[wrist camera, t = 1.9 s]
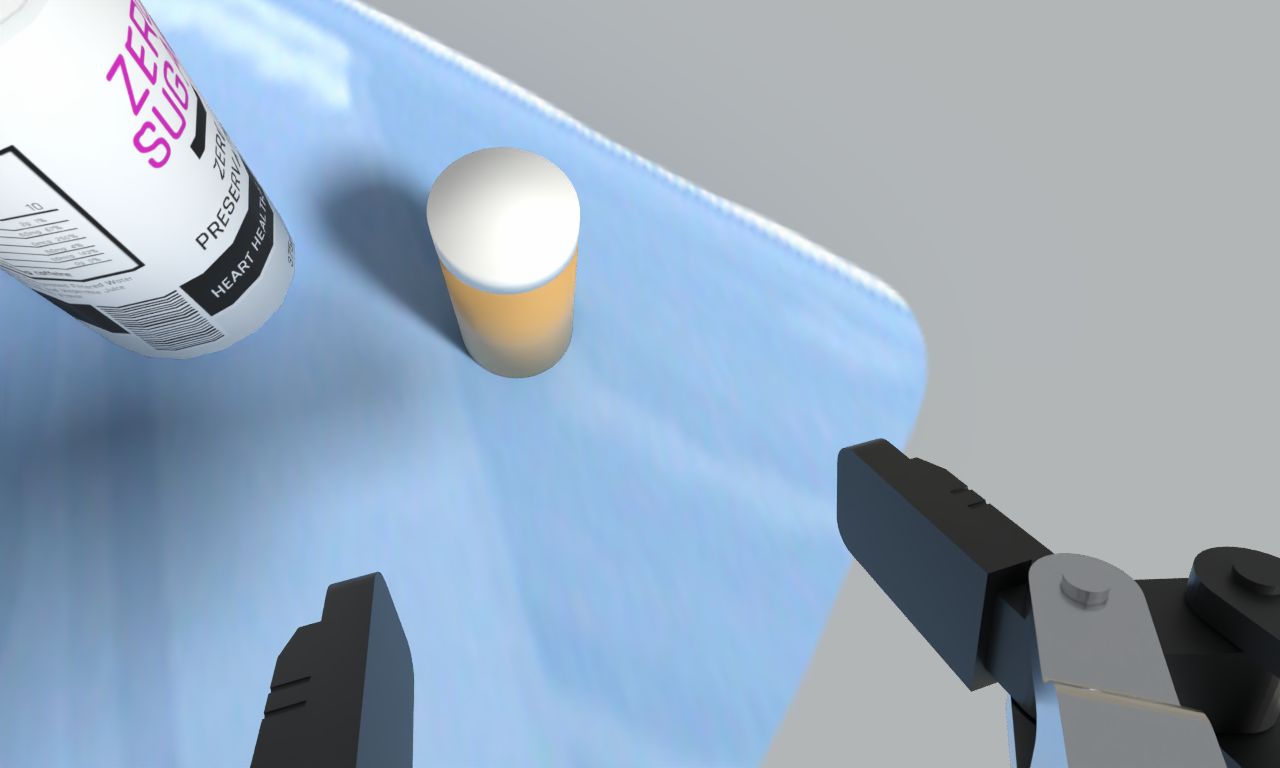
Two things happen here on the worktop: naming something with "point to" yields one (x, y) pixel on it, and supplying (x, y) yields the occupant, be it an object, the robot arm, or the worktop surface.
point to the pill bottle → (508, 256)
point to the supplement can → (128, 185)
